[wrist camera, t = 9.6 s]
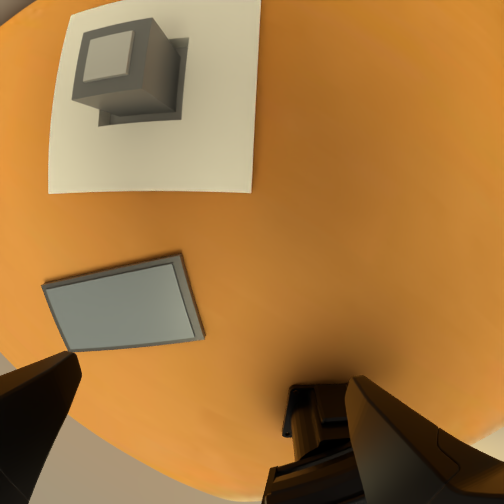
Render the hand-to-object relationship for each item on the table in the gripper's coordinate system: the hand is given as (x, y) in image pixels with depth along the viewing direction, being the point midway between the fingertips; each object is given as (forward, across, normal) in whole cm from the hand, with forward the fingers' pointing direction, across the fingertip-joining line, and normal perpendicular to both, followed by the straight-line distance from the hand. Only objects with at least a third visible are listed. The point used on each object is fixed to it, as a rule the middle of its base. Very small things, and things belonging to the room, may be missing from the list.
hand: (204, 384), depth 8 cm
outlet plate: (+12, +6, -12) cm, 18 cm away
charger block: (+12, +6, -12) cm, 18 cm away
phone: (+13, +9, +4) cm, 16 cm away
